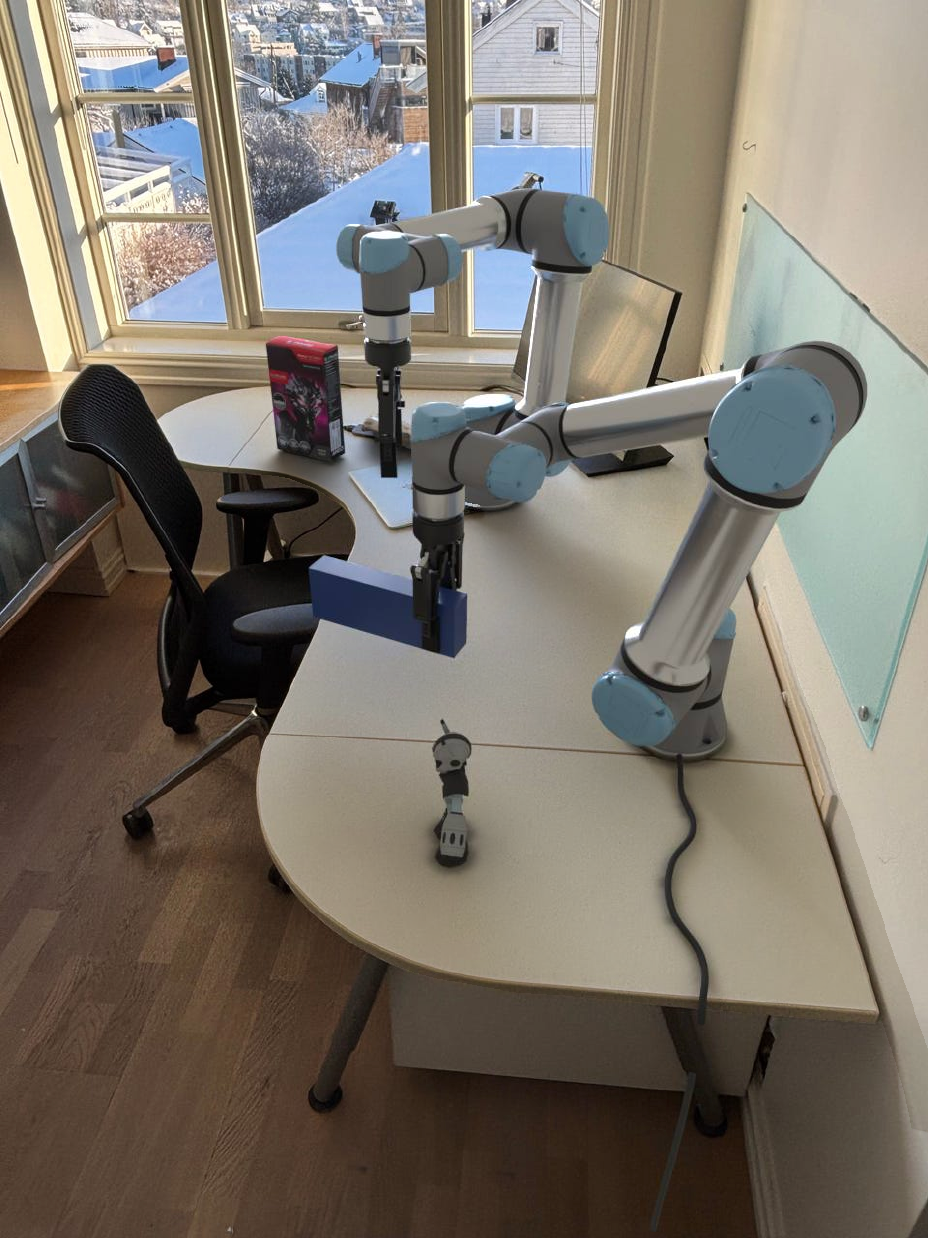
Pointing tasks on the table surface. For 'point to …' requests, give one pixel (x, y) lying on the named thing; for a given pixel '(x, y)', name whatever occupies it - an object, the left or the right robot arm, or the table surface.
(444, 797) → the robot
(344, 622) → the bar
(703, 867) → the table surface
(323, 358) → the graphics card box
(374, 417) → the stone
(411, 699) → the table surface
